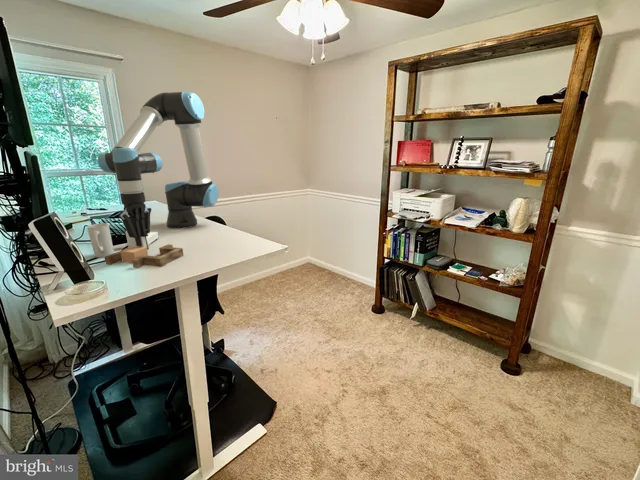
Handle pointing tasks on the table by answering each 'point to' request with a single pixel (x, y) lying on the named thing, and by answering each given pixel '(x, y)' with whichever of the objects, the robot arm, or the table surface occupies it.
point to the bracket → (150, 238)
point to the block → (132, 253)
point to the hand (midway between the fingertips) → (143, 253)
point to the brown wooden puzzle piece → (149, 257)
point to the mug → (101, 239)
